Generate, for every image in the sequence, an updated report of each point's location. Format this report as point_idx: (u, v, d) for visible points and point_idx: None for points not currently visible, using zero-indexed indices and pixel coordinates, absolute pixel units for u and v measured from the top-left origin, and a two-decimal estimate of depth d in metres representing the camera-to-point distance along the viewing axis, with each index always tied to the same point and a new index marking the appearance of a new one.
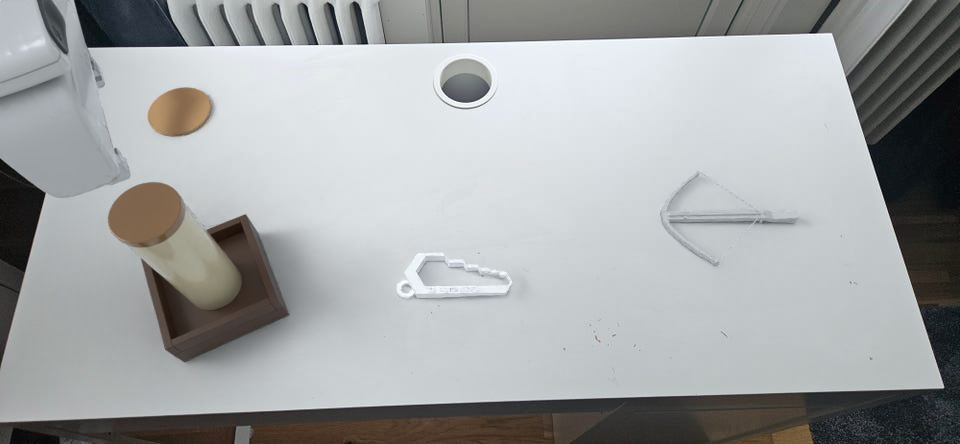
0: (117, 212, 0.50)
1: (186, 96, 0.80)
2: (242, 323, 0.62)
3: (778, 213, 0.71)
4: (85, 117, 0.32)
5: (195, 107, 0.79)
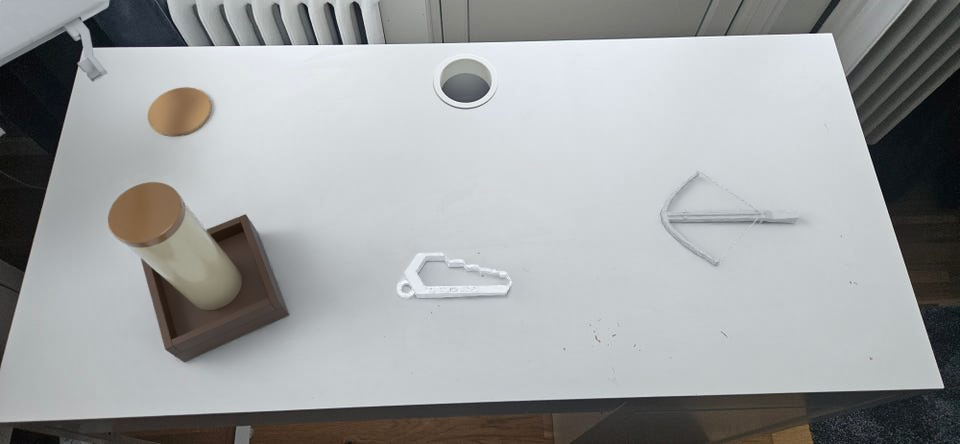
0: (117, 212, 0.50)
1: (186, 96, 0.80)
2: (242, 323, 0.62)
3: (778, 213, 0.71)
4: None
5: (195, 107, 0.79)
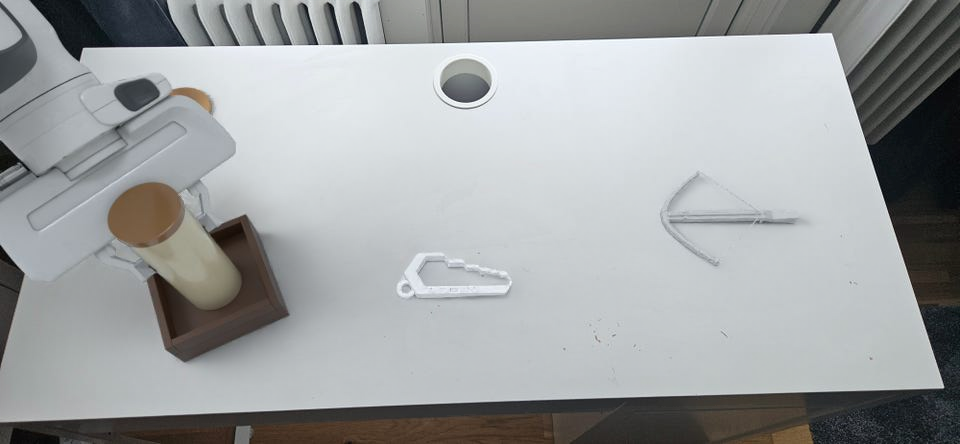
0: (117, 212, 0.50)
1: (186, 96, 0.80)
2: (242, 323, 0.62)
3: (778, 213, 0.71)
4: None
5: None
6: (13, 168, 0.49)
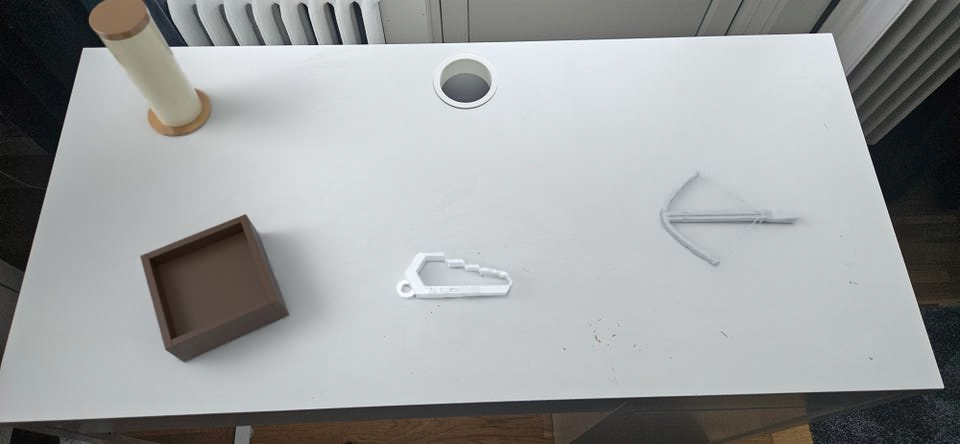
0: (122, 27, 0.63)
1: None
2: (242, 323, 0.62)
3: (778, 213, 0.71)
4: None
5: None
6: None
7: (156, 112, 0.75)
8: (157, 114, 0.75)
